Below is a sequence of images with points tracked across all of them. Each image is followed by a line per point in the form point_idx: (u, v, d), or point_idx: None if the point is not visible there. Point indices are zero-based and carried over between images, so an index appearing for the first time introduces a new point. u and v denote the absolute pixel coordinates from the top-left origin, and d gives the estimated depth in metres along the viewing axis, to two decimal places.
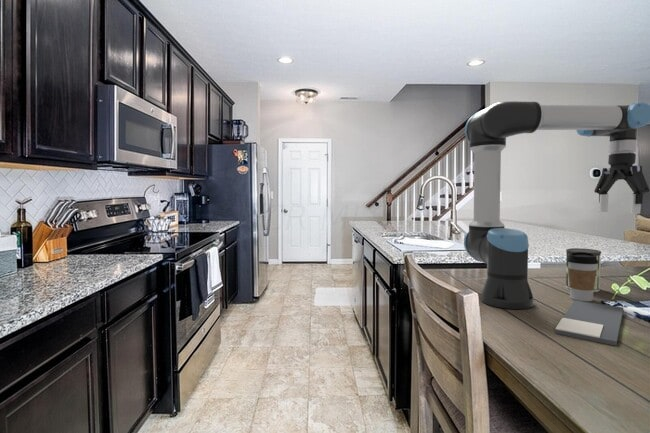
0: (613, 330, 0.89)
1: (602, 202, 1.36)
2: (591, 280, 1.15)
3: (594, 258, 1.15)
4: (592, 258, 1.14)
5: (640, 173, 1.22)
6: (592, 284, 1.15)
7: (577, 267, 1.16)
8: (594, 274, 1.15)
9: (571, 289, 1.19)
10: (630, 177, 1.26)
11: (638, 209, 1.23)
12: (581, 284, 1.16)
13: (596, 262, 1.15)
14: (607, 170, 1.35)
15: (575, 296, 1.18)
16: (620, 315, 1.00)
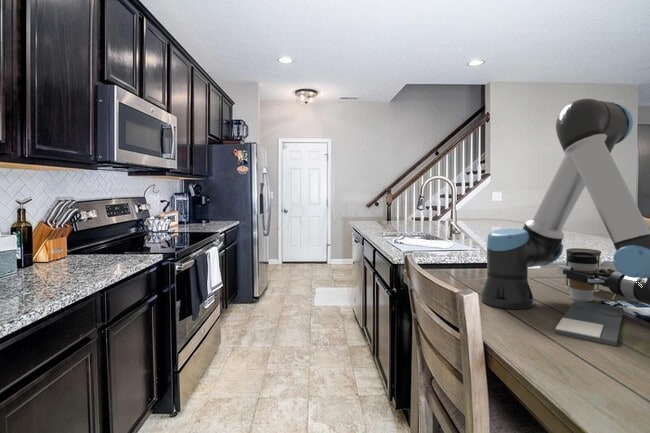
0: (613, 330, 0.89)
1: None
2: None
3: (594, 258, 1.15)
4: (592, 258, 1.14)
5: (584, 280, 1.09)
6: None
7: (577, 267, 1.16)
8: None
9: (571, 289, 1.19)
10: None
11: (561, 271, 1.22)
12: (581, 284, 1.16)
13: (596, 262, 1.15)
14: None
15: (575, 296, 1.18)
16: (620, 315, 1.00)
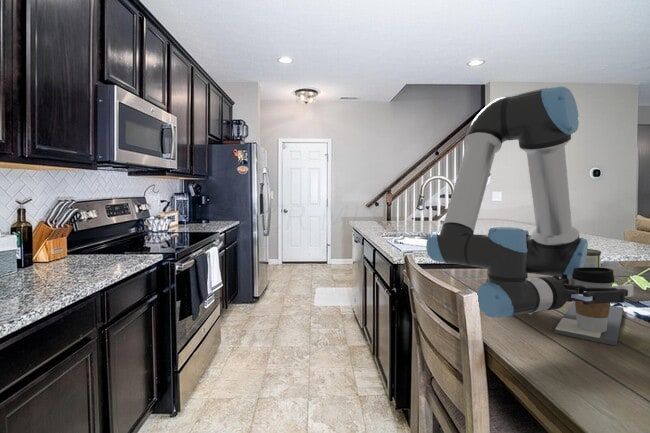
0: (613, 330, 0.89)
1: None
2: None
3: (587, 274, 0.87)
4: (583, 274, 0.87)
5: None
6: (586, 309, 0.87)
7: (574, 283, 0.92)
8: None
9: None
10: None
11: None
12: (575, 305, 0.91)
13: (589, 280, 0.86)
14: (582, 294, 0.80)
15: None
16: (620, 315, 1.00)
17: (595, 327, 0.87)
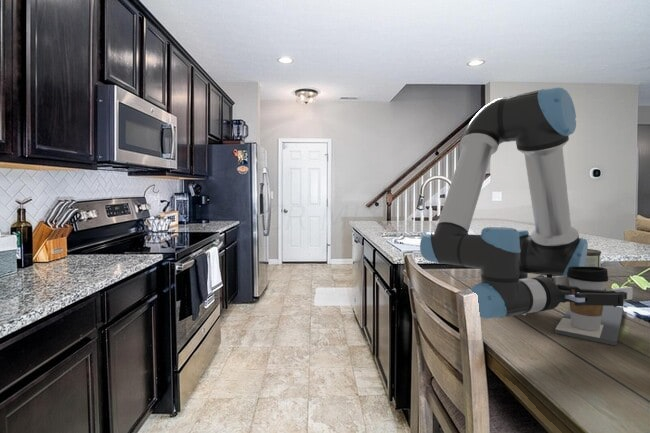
0: (613, 330, 0.89)
1: None
2: None
3: (582, 273, 0.88)
4: (578, 272, 0.89)
5: None
6: (581, 307, 0.89)
7: (569, 281, 0.93)
8: None
9: None
10: None
11: None
12: (570, 303, 0.92)
13: (584, 279, 0.87)
14: (574, 295, 0.79)
15: None
16: (620, 315, 1.00)
17: (589, 325, 0.88)
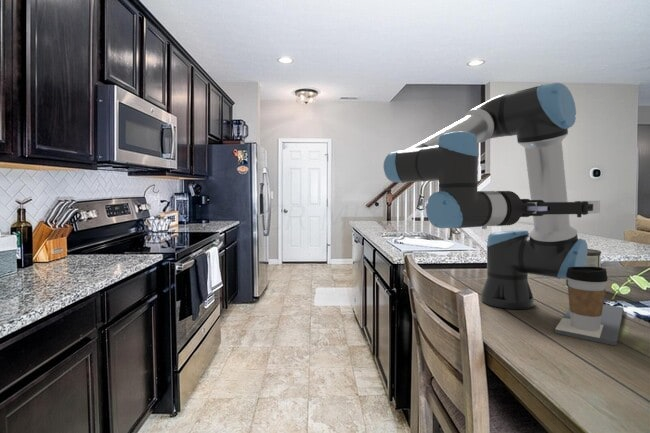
0: (613, 330, 0.89)
1: None
2: (577, 301, 0.89)
3: (581, 273, 0.88)
4: (577, 273, 0.89)
5: None
6: (581, 307, 0.89)
7: (568, 282, 0.93)
8: (582, 295, 0.88)
9: None
10: None
11: None
12: (569, 304, 0.92)
13: (583, 279, 0.87)
14: None
15: None
16: (620, 315, 1.00)
17: (589, 325, 0.88)
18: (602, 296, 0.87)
